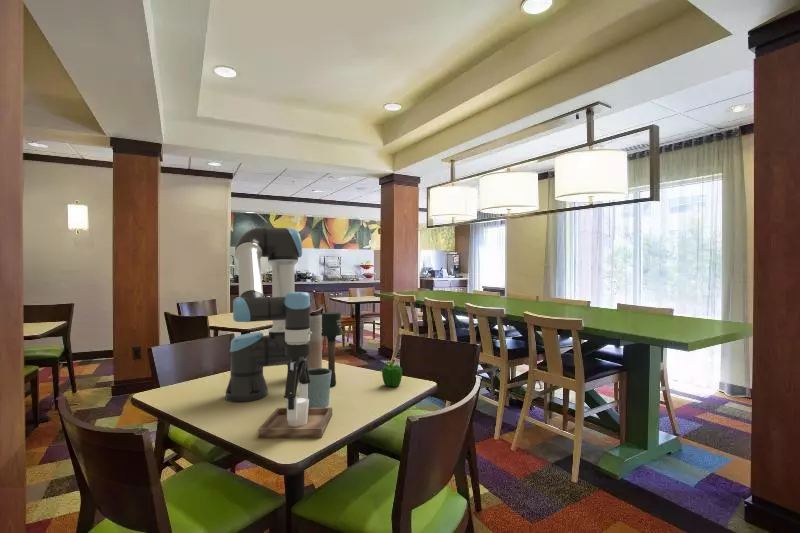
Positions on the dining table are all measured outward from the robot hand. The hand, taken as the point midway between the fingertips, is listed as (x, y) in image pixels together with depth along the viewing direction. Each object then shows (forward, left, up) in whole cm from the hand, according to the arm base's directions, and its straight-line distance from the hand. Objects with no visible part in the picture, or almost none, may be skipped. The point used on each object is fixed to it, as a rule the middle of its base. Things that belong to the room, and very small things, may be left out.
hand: (297, 411), depth 125 cm
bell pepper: (+28, +43, -4) cm, 51 cm away
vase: (-9, +58, -4) cm, 59 cm away
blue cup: (+2, +19, -4) cm, 20 cm away
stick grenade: (+3, +43, -4) cm, 43 cm away
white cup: (0, 0, -4) cm, 4 cm away
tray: (0, 0, -4) cm, 4 cm away
